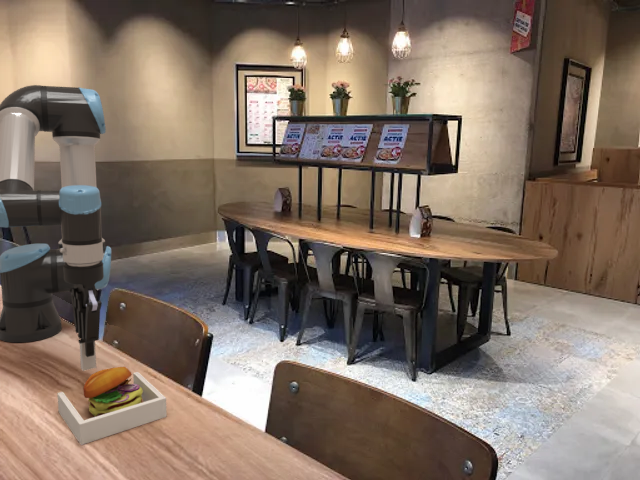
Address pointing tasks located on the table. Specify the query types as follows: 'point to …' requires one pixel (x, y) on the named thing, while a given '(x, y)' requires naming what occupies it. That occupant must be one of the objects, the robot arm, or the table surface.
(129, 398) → the cheeseburger
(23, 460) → the table surface
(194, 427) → the table surface
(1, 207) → the robot arm
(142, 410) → the box
